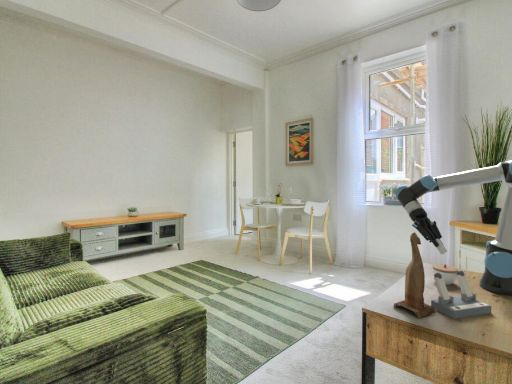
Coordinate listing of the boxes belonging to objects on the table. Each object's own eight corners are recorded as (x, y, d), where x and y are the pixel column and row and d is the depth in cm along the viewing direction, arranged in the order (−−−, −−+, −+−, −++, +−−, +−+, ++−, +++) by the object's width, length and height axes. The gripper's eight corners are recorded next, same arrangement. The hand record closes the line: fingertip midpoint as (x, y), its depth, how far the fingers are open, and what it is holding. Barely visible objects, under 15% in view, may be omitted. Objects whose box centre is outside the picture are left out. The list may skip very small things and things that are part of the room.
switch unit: (431, 307, 115) (431, 293, 114) (466, 302, 119) (466, 289, 119) (453, 319, 105) (454, 304, 105) (491, 313, 110) (491, 299, 110)
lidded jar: (461, 287, 136) (462, 268, 135) (437, 285, 138) (438, 267, 137) (450, 279, 146) (451, 262, 146) (428, 277, 148) (429, 260, 148)
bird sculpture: (436, 313, 110) (440, 233, 109) (419, 319, 104) (423, 235, 103) (408, 302, 120) (412, 229, 119) (392, 307, 114) (395, 230, 113)
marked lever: (462, 299, 116) (453, 271, 120) (469, 298, 116) (459, 270, 121) (469, 299, 113) (458, 270, 117) (475, 298, 114) (465, 269, 118)
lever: (440, 302, 112) (430, 273, 117) (447, 301, 113) (437, 272, 118) (445, 302, 110) (436, 272, 114) (452, 301, 111) (443, 272, 115)
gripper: (421, 215, 145) (449, 255, 130) (401, 216, 142) (427, 257, 127) (430, 206, 140) (461, 247, 125) (409, 207, 137) (438, 249, 121)
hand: (444, 252), depth 126 cm, fingers closed
